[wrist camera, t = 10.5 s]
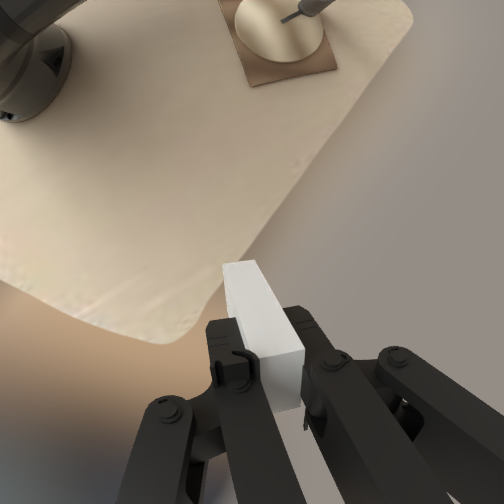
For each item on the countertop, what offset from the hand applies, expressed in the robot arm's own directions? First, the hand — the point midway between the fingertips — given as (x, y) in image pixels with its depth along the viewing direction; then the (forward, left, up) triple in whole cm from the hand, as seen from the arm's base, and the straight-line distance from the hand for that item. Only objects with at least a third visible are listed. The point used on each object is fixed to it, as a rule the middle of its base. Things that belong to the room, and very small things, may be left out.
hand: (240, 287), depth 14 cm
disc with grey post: (-13, +22, -25) cm, 36 cm away
